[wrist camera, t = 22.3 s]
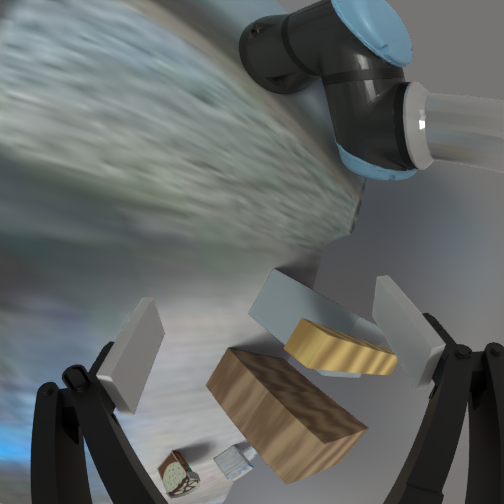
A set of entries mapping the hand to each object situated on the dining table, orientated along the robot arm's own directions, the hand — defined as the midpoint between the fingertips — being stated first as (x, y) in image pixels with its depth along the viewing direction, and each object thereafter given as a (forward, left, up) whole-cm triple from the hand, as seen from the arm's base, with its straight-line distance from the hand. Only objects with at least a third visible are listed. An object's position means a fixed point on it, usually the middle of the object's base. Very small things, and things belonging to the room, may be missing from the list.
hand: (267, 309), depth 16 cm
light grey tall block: (-12, +30, -28) cm, 43 cm away
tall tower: (+3, +40, -28) cm, 49 cm away
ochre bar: (-10, +26, -7) cm, 29 cm away
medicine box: (+25, +66, -28) cm, 76 cm away
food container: (+35, +52, -28) cm, 68 cm away
